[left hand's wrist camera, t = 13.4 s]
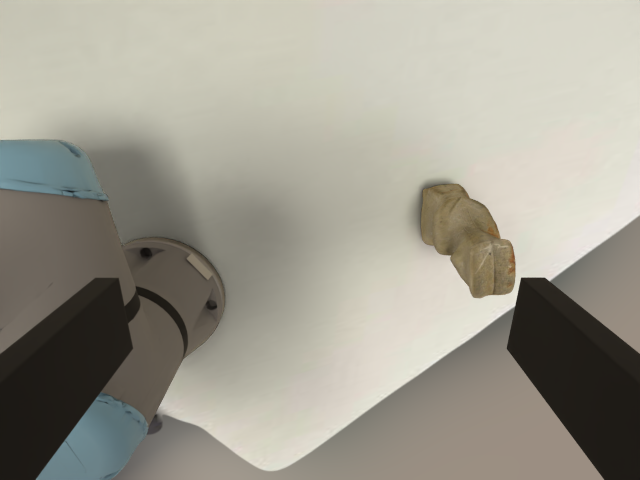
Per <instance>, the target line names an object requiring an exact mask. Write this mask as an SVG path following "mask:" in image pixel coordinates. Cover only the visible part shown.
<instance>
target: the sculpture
mask: <svg viewBox="0 0 640 480" xmlns="http://www.w3.org/2000/svg"><path fill="white" fill-rule="evenodd" d="M422 197H423V205H422V211H421V232H422V240H423V241H424V243H425V244H428V245H434V246H435V248H436V250H437V252H438V253H439V254H442V255H451V257H450V259H451V262H452V264H453V265H454V267H455V268H456V270H457V271H458V273H459V275H460V276H461V278H462V279H463V280H464V281H465V282H466V284H467V285H468V286H469V289H470V292H471V294H472V296H473V297H474V298H482V297H485V296H487V295H505V294H508V293H510V292H511V291H512V290H513V287H514V283H515V256H514V251H513V247H512V244H511V242H510V241H509V240H506V239H500V234H499V231H498V228H497V225H496V223H495V221H494V220H493V218H492V216H491V214H490V212H489V210H488V209H487V208H486V207H485V206H484V205H483V204H481V203H480V202H478V201H475V200H473V199H470V198H469V196H468V194H467V192H466V191H465V189H464V188H463V187H462V186H461V185H459V184H445V185H438V186H434V187H431V188H427V189H424V190H423V194H422Z"/></svg>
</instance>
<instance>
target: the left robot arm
mask: <svg viewBox="0 0 640 480" xmlns="http://www.w3.org/2000/svg"><path fill="white" fill-rule="evenodd" d="M107 201H108V196H107V195H106V194H105V193H103V191H102V188H101V186H100V184H99V181H98V179H97V177H96V174H95V172H94V169H93V166H92V164H91V161H90V159H89V158H88V156H87V155H86V153H85V152H84V151H83V150H82V149H80V148H79V147H77V146H76V145H74V144H72V143H69V142H66V141H61V140H0V480H110V479H112V478H113V477H115V476H116V475H117V474H118V473H119V472H120V471H121V470H122V469H123V468H124V466H125V465H126V464H127V462H128V461H129V459H130V457H131V456H132V454H133V452H134V451H135V449H136V447H137V446H138V444H139V443H140V442H141V441H142V440H144V438H145V437H146V435H147V432H148V427H149V425H150V423H151V421H152V419H153V417H154V415H155V413H156V411H157V409H158V407H159V405H160V403H161V401H162V400H163V398H164V396H165V394H166V392H167V390H168V388H169V386H170V384H171V382H172V380H173V378H174V376H175V374H176V372H177V370H178V368H179V366H180V364H181V362H182V360H183V359H184V358H185V357H186V356H188V355H189V354H190V353H191V352H193V351H194V350H195V349H197V348H198V347H199V346H201V345H202V344H203V343H204V342H205V341H206V340H207V339H208V338H209V337H210V336H211V335H212V333H213V332H214V331H215V329H216V327H217V326H218V323H219V321H220V319H221V317H222V314H223V311H224V305H225V294H224V289H223V285H222V282H221V279H220V277H219V275H218V273H217V272H216V270H215V269H214V267H213V266H212V265H211V263H210V262H209V261H208V260H207V259H206V258H205V257H204V256H203V255H201V254H200V253H199V252H197V251H196V250H194V249H193V248H191V247H189V246H187V245H185V244H183V243H181V242H178V241H175V240H171V239H167V238H158V237H149V238H141V239H137V240H134V241H131V242H129V243H126V244H124V245H123V246H121V243H120V240H119V237H118V234H117V231H116V228H115V224H114V221H113V218H112V215H111V212H110V209H109V206H108V203H107ZM507 350H508V351H509V352H510V354H511V355H512V356H513V358H514V359H515V360H516V361H517V363H518V364H519V366H520V367H521V368H522V370H523V371H524V372H525V374H526V375H527V376H528V378H529V379H530V380H531V382H532V383H533V384H534V386H535V387H536V388H537V390H538V391H539V392H540V394H541V395H542V397H543V398H544V399H545V401H546V402H547V403H548V405H549V406H550V407H551V409H552V410H553V411H554V413H555V414H556V415H557V417H558V418H559V419H560V421H561V422H562V423H563V425H564V426H565V427H566V429H567V430H568V431H569V433H570V434H571V435H572V437H573V438H574V440H575V441H576V442H577V444H578V445H579V446H580V448H581V449H582V450H583V452H584V453H585V454H586V456H587V457H588V458H589V460H590V461H591V462H592V464H593V465H594V466H595V468H596V469H597V470H598V472H599V473H600V474H601V476H602V477H603V478H604V480H640V354H639V353H638V352H637V351H635V350H634V349H633V348H632V347H631V346H629V345H628V344H627V343H626V342H624V341H623V340H622V339H620V338H619V337H618V336H617V335H616V334H614V333H613V332H612V331H611V330H609V329H608V328H607V327H605V326H604V325H603V324H602V323H601V322H599V321H598V320H597V319H596V318H594V317H593V316H592V315H591V314H589V313H588V312H587V311H586V310H584V309H583V308H582V307H581V306H579V305H578V304H577V303H576V302H574V301H573V300H572V299H571V298H569V297H568V296H567V295H566V294H564V293H563V292H562V291H561V290H559V289H558V288H557V287H556V286H554V285H553V284H552V283H551V282H549V281H548V280H547V279H546V278H521V281H520V286H519V291H518V296H517V301H516V306H515V311H514V315H513V320H512V325H511V330H510V335H509V340H508V345H507Z"/></svg>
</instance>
